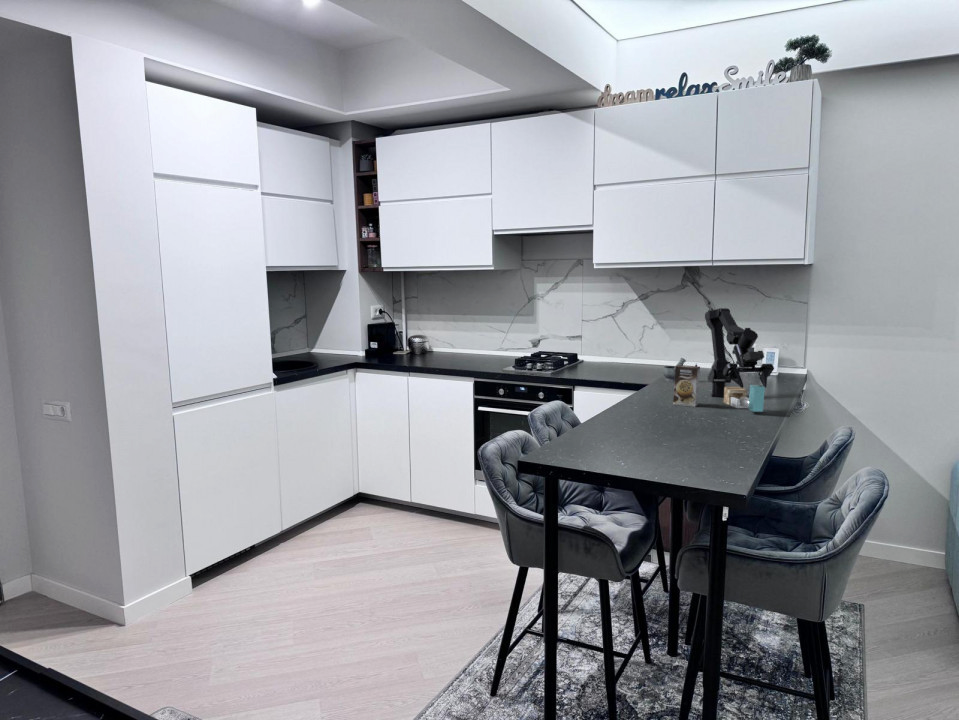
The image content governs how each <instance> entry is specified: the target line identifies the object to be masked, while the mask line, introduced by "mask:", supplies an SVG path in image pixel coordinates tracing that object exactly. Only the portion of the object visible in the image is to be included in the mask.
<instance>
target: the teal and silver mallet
mask: <svg viewBox="0 0 959 720" xmlns="http://www.w3.org/2000/svg"><path fill="white" fill-rule="evenodd" d="M765 390H766V388H765V387H764V386H763V385H762V384H749V394H748V395H749V396H748V397H747V396H746V397H747V398H746V397H740V398H739V400H740V404H742V405H744V406H746V407H748V408H747V409H748V411H751V412H764V403H765V402H764V401H765ZM748 398H749V399H748Z"/></svg>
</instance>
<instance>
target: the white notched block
mask: <svg viewBox="0 0 959 720" xmlns="http://www.w3.org/2000/svg"><path fill="white" fill-rule="evenodd" d="M746 398H748V399H749V397H747V396H746ZM730 406H731V407H734V408H735V409H748V407H746V406H744V405H742V404H740V400H739V399H737V398H735V397H731V405H730Z"/></svg>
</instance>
